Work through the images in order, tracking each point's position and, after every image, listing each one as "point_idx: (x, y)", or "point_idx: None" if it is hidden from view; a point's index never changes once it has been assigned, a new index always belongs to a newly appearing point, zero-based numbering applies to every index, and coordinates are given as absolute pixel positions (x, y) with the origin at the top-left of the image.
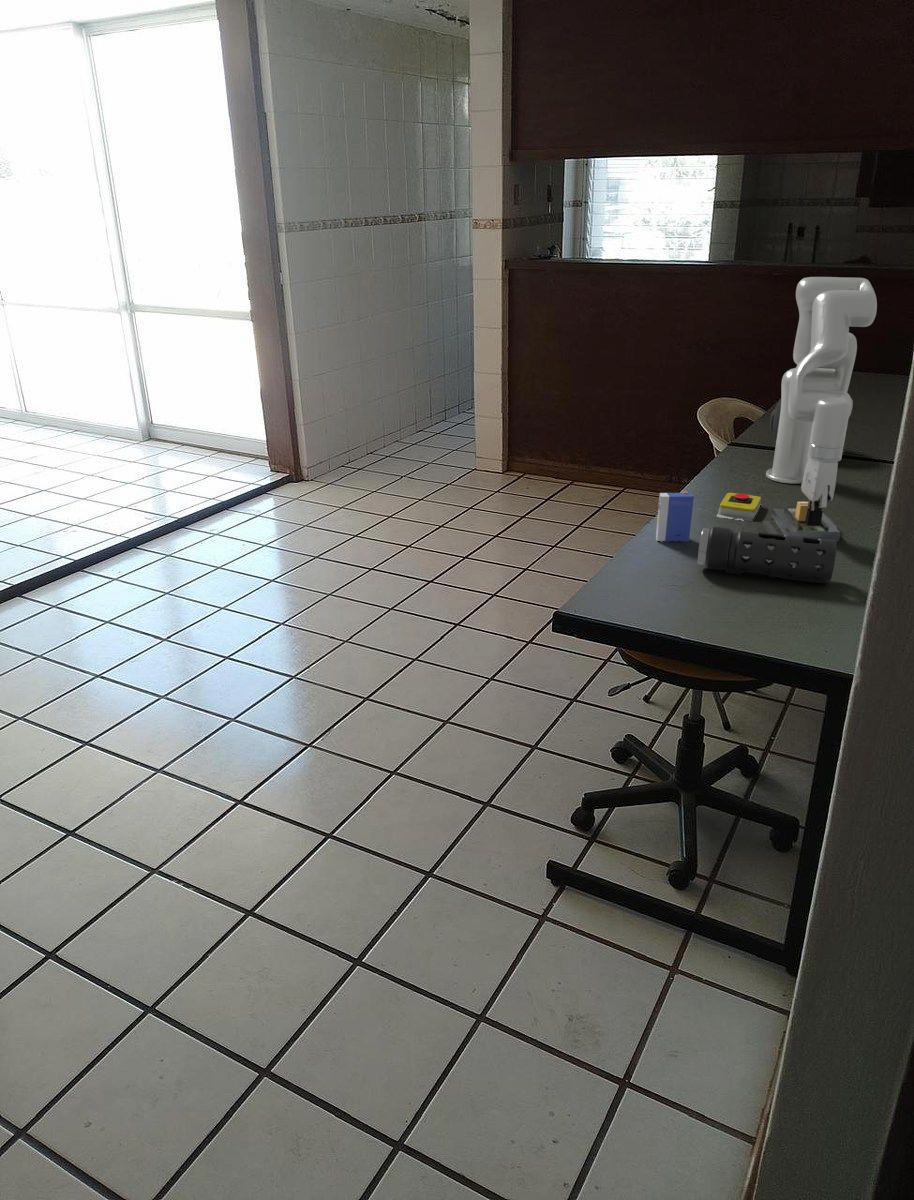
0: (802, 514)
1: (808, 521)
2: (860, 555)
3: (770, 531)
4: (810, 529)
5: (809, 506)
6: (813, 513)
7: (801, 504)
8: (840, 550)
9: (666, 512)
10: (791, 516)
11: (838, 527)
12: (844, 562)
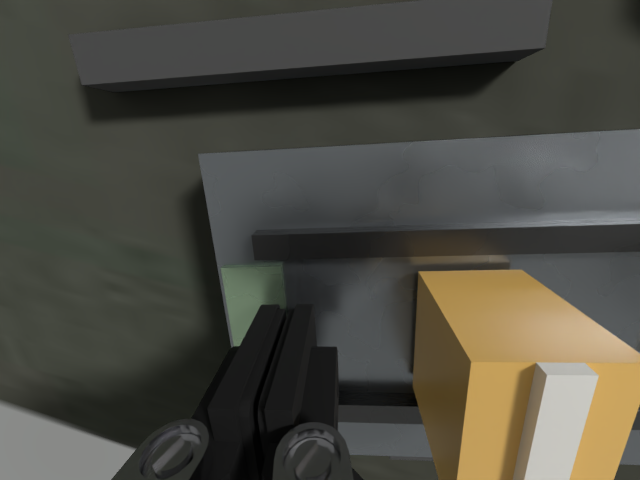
0: (431, 324)
1: (252, 326)
2: (119, 431)
3: (292, 14)
4: (248, 309)
5: (276, 450)
6: (194, 416)
7: (522, 381)
8: (154, 378)
9: None
10: (509, 239)
11: (390, 457)
12: (14, 354)
